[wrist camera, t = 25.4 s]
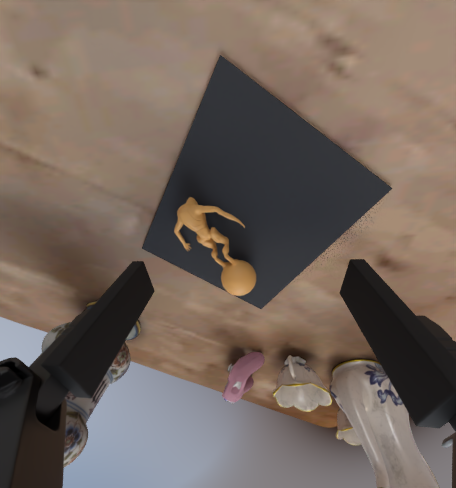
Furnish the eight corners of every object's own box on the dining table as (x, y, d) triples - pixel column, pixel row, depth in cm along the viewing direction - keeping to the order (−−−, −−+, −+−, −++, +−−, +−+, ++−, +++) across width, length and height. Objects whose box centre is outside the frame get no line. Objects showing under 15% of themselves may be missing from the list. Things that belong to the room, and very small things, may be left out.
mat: (143, 247, 23) (141, 248, 23) (220, 56, 14) (220, 54, 14) (260, 307, 27) (261, 309, 26) (390, 187, 17) (392, 188, 17)
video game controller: (244, 338, 33) (222, 373, 28) (267, 354, 32) (249, 395, 26) (234, 366, 38) (214, 400, 33) (254, 381, 37) (236, 420, 31)
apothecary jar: (84, 283, 28) (-119, 466, 13) (157, 318, 30) (61, 507, 15) (73, 323, 34) (-77, 481, 18) (135, 349, 36) (49, 509, 21)
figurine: (284, 278, 20) (239, 176, 19) (265, 311, 16) (204, 177, 14) (227, 289, 25) (188, 208, 24) (199, 317, 21) (149, 217, 19)
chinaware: (253, 352, 35) (246, 499, 22) (332, 318, 26) (402, 536, 13) (348, 405, 42) (386, 543, 28) (437, 393, 33) (555, 588, 19)
